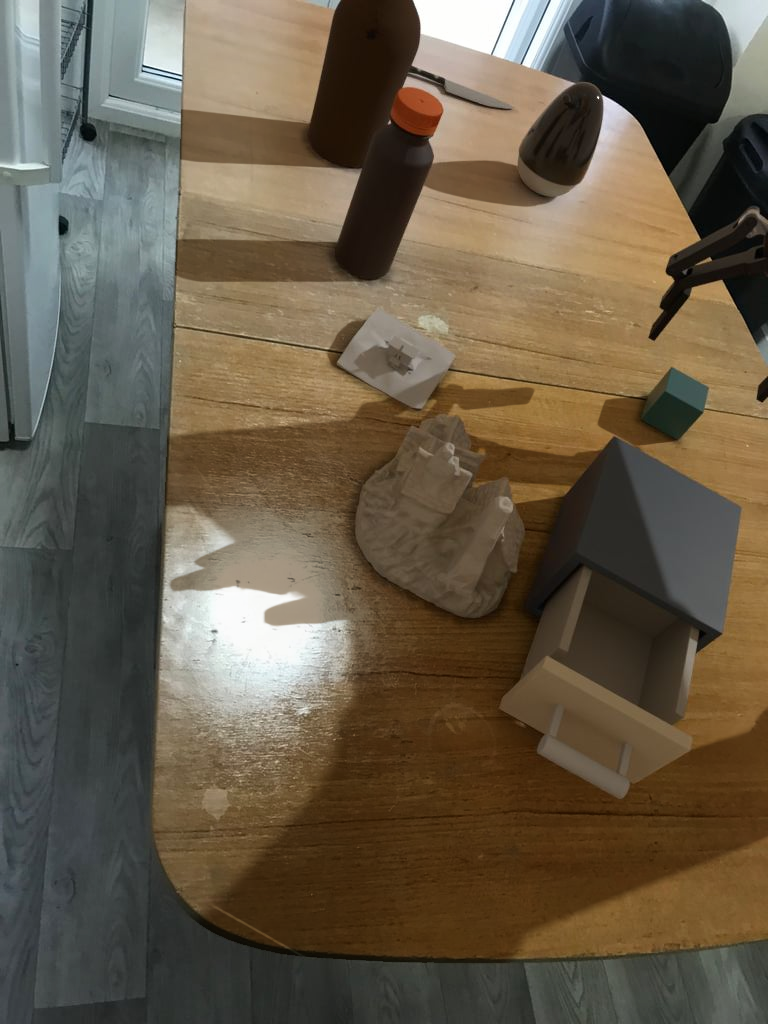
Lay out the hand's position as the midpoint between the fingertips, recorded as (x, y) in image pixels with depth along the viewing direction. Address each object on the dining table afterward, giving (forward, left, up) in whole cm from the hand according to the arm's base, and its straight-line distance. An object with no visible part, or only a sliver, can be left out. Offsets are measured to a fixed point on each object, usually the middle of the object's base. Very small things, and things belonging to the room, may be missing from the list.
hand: (706, 363), depth 93 cm
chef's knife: (+45, -48, -9) cm, 66 cm away
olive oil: (+52, -18, -9) cm, 56 cm away
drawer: (+1, +42, -8) cm, 43 cm away
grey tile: (+30, +15, -9) cm, 35 cm away
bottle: (+40, +2, -9) cm, 41 cm away
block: (0, 0, -9) cm, 9 cm away
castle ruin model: (+18, +33, -9) cm, 39 cm away
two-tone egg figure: (+27, -35, -9) cm, 45 cm away
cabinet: (+1, +28, -9) cm, 29 cm away
